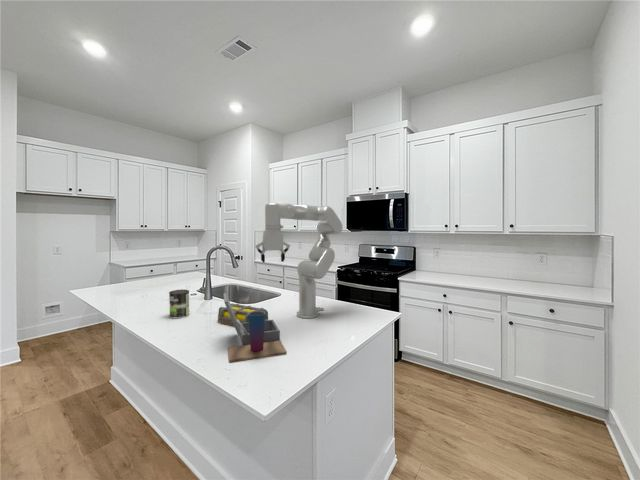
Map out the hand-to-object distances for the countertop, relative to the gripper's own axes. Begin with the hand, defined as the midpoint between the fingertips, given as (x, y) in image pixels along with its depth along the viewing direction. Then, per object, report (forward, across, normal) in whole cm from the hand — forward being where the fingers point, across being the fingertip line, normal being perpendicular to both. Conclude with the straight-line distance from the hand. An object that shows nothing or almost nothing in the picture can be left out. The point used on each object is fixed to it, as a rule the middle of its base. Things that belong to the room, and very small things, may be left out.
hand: (273, 261), depth 145 cm
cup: (+32, +12, +27) cm, 44 cm away
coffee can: (+34, +47, -35) cm, 68 cm away
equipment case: (+33, +10, +12) cm, 37 cm away
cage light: (+34, +14, -12) cm, 39 cm away
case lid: (+21, +20, +12) cm, 31 cm away
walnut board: (+33, +12, +27) cm, 45 cm away
